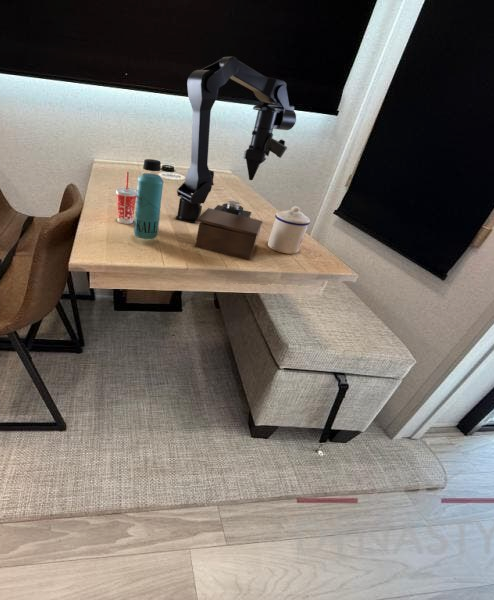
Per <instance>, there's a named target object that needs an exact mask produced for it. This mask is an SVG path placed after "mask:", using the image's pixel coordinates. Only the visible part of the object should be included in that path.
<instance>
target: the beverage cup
mask: <svg viewBox="0 0 494 600" xmlns="http://www.w3.org/2000/svg"><path fill="white" fill-rule="evenodd" d="M129 173H130V172H129V171H126V184H125V185H126V186H125V187H118V188H116V190H115V192H116V208H117V209H116V211H117V213H116V214H117V222H118V223H120V224H125V225H127V224H133V223H134V218H135V210H136V199H137V197H136V196H137V193H136V192H137V189H135V188H130V187H129V175H130V174H129Z"/></svg>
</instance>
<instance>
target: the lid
mask: <svg viewBox="0 0 494 600" xmlns="http://www.w3.org/2000/svg"><path fill="white" fill-rule="evenodd" d="M196 222H197V223H200V222H202V223H206V224H210V225H214V226H218V227H222V228H226V229H229V230H233V231H237V232H241V233H245V234H249V235H253V236H257V234H258V231H259V229H260V230H261V228H260V227H262V225H263V220H260V219H256V218H251V217H250V218H248V217H244V216H239V215H235V214H231V213H227V212H223V211H219V210H215V209H214V208H210V207H208V208H206V210H204V211H203V212H202V213H201V215H200V216H199V217H198V218H197V221H196ZM261 224H262V225H261Z"/></svg>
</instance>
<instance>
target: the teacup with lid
mask: <svg viewBox="0 0 494 600" xmlns="http://www.w3.org/2000/svg"><path fill="white" fill-rule="evenodd" d="M300 210H301V209H300V207H299V206H295V205H294V206H292V207H291V209H286V210H282V211H281V210H280V211H278V212H276V214H275V215H274V221H273V225H272V228H271V231H270V235H269V238H268V241H267V245H268V247H269V248H270V249H271V250H273V251H276V252H278V253H282V254H289V255H291V254H292V255H293V254H294V255H295V254H297V253H299V251H300V248H301V246H302V243H303V240H304V237H305V235H306V232H307V229H308V226H309V225H310V223H311V220H310V218H309V217H308V216H306V215H305V214H304V213H303V212H301V211H300Z"/></svg>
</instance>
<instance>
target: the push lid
mask: <svg viewBox="0 0 494 600" xmlns="http://www.w3.org/2000/svg"><path fill="white" fill-rule="evenodd" d="M227 203H228V204H227V207H229V208H233V209H239V206H241V203H240V202H239V201H235V200H228V201H227Z"/></svg>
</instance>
